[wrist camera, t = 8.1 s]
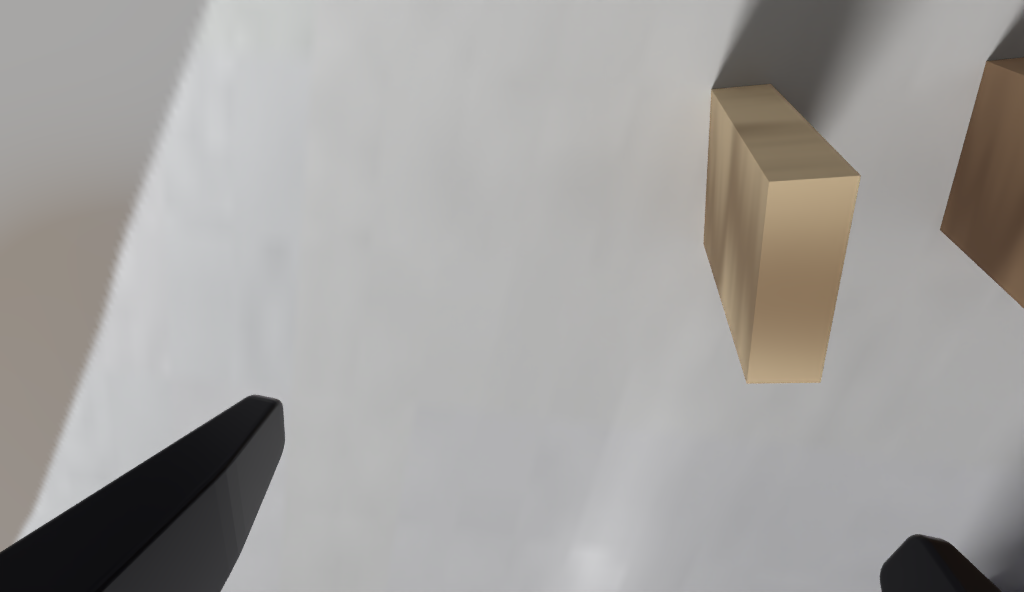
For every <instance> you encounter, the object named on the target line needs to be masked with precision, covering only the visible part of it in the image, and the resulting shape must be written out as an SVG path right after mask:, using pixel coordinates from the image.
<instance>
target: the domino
mask: <svg viewBox="0 0 1024 592" xmlns="http://www.w3.org/2000/svg"><path fill="white" fill-rule="evenodd" d="M940 230H941V231H942V232H943V233H944V234H945V235H946V236H947V237H948V238H949V239H950V240H951V241H952V242H954V243H955V244H956V245H957V246H958V247H959V248H960V249H961V250H962V251H963V252H964V253H965V254H966V255H967V256H968V257H970V258H971V259H972V260H973V261H974V262H975V263H976V264H977V265H978V266H979V267H980V268H981V269H982V270H983V271H985V272H986V273H987V274H988V275H989V276H990V277H991V278H992V279H993V280H994V281H995V282H996V283H997V284H998V285H999V286H1001V287H1002V288H1003V289H1004V290H1005V291H1006V292H1007V293H1008V294H1009V295H1010V296H1011V297H1012V298H1013V299H1014V300H1015V301H1017V302H1018V303H1019V304H1020V305H1021V306H1022V307H1023V308H1024V57H1023V58H1013V59H1002V60H992V61H986V65H985V68H984V72H983V76H982V79H981V83H980V87H979V90H978V94H977V97H976V101H975V105H974V108H973V112H972V115H971V119H970V123H969V126H968V130H967V134H966V137H965V141H964V144H963V148H962V152H961V155H960V159H959V163H958V166H957V170H956V173H955V177H954V181H953V184H952V188H951V192H950V195H949V199H948V202H947V206H946V210H945V213H944V217H943V221H942V224H941V228H940Z"/></svg>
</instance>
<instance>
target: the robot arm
mask: <svg viewBox="0 0 1024 592" xmlns="http://www.w3.org/2000/svg"><path fill="white" fill-rule="evenodd" d="M284 444H285V431H284V415H283V405H282V403H281V401H280V400H278V399H275V398H270V397H265V396H260V395H251V396H248V397H246V398H244V399H243V400H241V401H240V402H238V403H236V404H235V405H233V406H232V407H230V408H229V409H227V410H225V411H224V412H222V413H221V414H219V415H217V416H216V417H214V418H213V419H211V420H209V421H208V422H206V423H205V424H203V425H202V426H200V427H198V428H197V429H195V430H194V431H192V432H190V433H189V434H187V435H186V436H184V437H183V438H181V439H179V440H178V441H176V442H175V443H173V444H171V445H170V446H168V447H167V448H165V449H163V450H162V451H160V452H159V453H157V454H156V455H154V456H152V457H151V458H149V459H148V460H146V461H144V462H143V463H141V464H140V465H138V466H136V467H135V468H133V469H132V470H130V471H129V472H127V473H125V474H124V475H122V476H121V477H119V478H117V479H116V480H114V481H113V482H111V483H109V484H108V485H106V486H105V487H103V488H102V489H100V490H98V491H97V492H95V493H94V494H92V495H90V496H89V497H87V498H86V499H84V500H82V501H81V502H79V503H78V504H76V505H75V506H73V507H71V508H70V509H68V510H67V511H65V512H63V513H62V514H60V515H59V516H57V517H56V518H54V519H52V520H51V521H49V522H48V523H46V524H44V525H43V526H41V527H40V528H38V529H36V530H35V531H33V532H32V533H30V534H29V535H27V536H25V537H24V538H22V539H21V540H19V541H17V542H16V543H14V544H13V545H11V546H9V547H8V548H6V549H5V550H3V551H2V552H0V592H220V591H221V590H222V588H223V586H224V584H225V582H226V580H227V579H228V577H229V575H230V573H231V571H232V569H233V567H234V565H235V563H236V561H237V559H238V558H239V555H240V553H241V551H242V549H243V546H244V544H245V542H246V540H247V537H248V535H249V532H250V530H251V527H252V525H253V523H254V520H255V518H256V515H257V513H258V511H259V508H260V506H261V503H262V501H263V499H264V496H265V494H266V491H267V489H268V487H269V484H270V482H271V479H272V477H273V475H274V472H275V470H276V467H277V465H278V463H279V460H280V458H281V455H282V452H283V449H284ZM880 584H881V590H882V592H1001V591H1000V590H999V589H998V588H997V587H996V586H995V585H994V584H993V583H992V582H991V581H990V580H989V579H988V578H987V577H986V576H985V575H983V574H982V573H981V572H980V571H979V570H978V569H977V568H976V567H975V566H974V565H973V564H972V563H971V562H970V561H969V560H968V559H967V558H965V557H964V556H963V555H962V554H961V553H960V552H959V551H958V550H957V549H956V548H955V547H954V546H953V545H951V544H950V543H949V542H947V541H945V540H943V539H939V538H935V537H930V536H925V535H920V534H915V535H912V536H910V537H909V538H907V539H906V540H905V542H904V543H903V544H902V545H901V546H900V547H899V548H898V549H897V550H896V551H895V552H894V553H893V554H892V555H891V556H890V558H889V559H888V560H887V561H886V562H885V563H884V564H883V566H882V568H881V572H880Z"/></svg>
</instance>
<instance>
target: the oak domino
mask: <svg viewBox="0 0 1024 592" xmlns="http://www.w3.org/2000/svg"><path fill="white" fill-rule="evenodd" d="M860 177H861V175H860V174H859V173H858V172H857V171H856V170H855V169H854V168H853V167H852V166H851V165H850V164H849V163H848V162H847V161H846V160H845V159H844V158H843V157H842V156H841V155H840V154H839V153H838V152H837V151H836V150H835V149H834V148H833V147H832V146H831V145H830V144H829V143H828V142H827V141H826V140H825V139H824V138H823V137H822V136H821V135H820V134H819V133H818V132H817V131H816V130H815V129H814V128H813V127H812V126H811V125H810V124H809V123H808V122H807V120H806V119H805V118H804V117H803V116H802V115H801V114H800V113H799V112H798V111H797V110H796V109H795V108H794V107H793V106H792V105H791V104H790V103H789V102H788V101H787V100H786V99H785V98H784V97H783V96H782V95H781V94H780V93H779V92H778V91H777V90H776V89H775V88H774V87H773V86H772V85H771V84H763V85H752V86H742V87H731V88H720V89H711V108H710V128H709V148H708V167H707V187H706V206H705V226H704V247H705V250H706V253H707V256H708V260H709V263H710V266H711V269H712V273H713V276H714V279H715V282H716V285H717V289H718V292H719V295H720V298H721V302H722V305H723V308H724V311H725V315H726V318H727V321H728V324H729V327H730V331H731V334H732V337H733V340H734V344H735V347H736V350H737V353H738V357H739V360H740V363H741V366H742V369H743V373H744V376H745V379H746V382H747V383H820V382H821V377H822V372H823V367H824V361H825V356H826V351H827V346H828V341H829V336H830V331H831V325H832V320H833V315H834V310H835V305H836V300H837V295H838V290H839V284H840V279H841V274H842V269H843V264H844V259H845V254H846V248H847V243H848V238H849V233H850V228H851V223H852V218H853V213H854V207H855V202H856V197H857V192H858V187H859V182H860Z"/></svg>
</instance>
